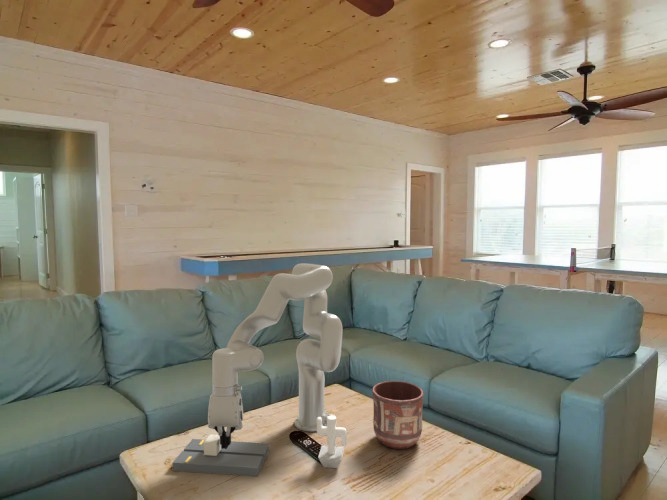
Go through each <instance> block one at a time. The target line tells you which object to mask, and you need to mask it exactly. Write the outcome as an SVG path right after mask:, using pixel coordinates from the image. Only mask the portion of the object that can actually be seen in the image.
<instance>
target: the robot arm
mask: <svg viewBox="0 0 667 500" xmlns="http://www.w3.org/2000/svg"><path fill="white" fill-rule="evenodd" d="M333 279H334V275H333V272H332V269H331V268H329V267H328V266H326V265H321V264H315V263H305V262H304V263H303V262H302V263H297V264H295V265H294V267H293V268H292V272H291V274H290V273H283V272H281V273H277V274H275V275H273V277H272V278H271V280H270V281H269V283H268V285H267V288H266V290H265V291H264V293H263V294H262V297H261V298H260V300H259V303H258V305H257V306H256V308H255V310H254V311H253V312H252V313H251V314H249V315H248V316H247V317H245V319H244V320H243V321H241V323H239V324H238V326H237V327H236V328H235V329H234V331H233V333H232V334H231V337H230V338H229V340H228V343H227V344H226V347H222V348H219V349H216V350H214V351H213V353H212V358H211V359H212V361H211V362H212V392H211V393H210V396H209V401H208V409H207V423H208V425H207V427H208V428H209V429H212V430H215V432H217V435H219V436H220V444H221V449H223V448H225V449H227V448H228V446H229V445H230V444H231V441H232V433H234V432H235V431H239V430H240V431H241V430H242V429H243V426H244V425H243V422H242V421H243V420H244V407H243V400H242V399H243V398H242V394H241V391H242V390H243V386H242V385H241V386H240V385H239V381H238V380H239V379H238V373H239V372H248V371H255V370H257V369H258V368H260V367H261V365H262V364H263V362H264V357H265V356H264V353H263V351H262V350H261V349H260V348H259V347H257V346H255V345H252V344H250V342H252V339H253V338H254V336H255V335H256V334H257V333H259V331H261V330H263V329H265V328H268V327H270V326H273V325H276V324H277V323H278V322H279V321H280V319H281V317H282V315H283V313H284V311H285V309H286V306H288V303H289V301H290V300H291V301H296V302H299V301H304V303H303V304H304V305H303V306H304V307H303V316H302V317H303V318H302V330H303V332H304V334H306V335H308V336H311V337H313V338H317V339H320V340H317V339H313V338H305V339H304V340H301V341H300V343H299V344H298V345H297V348H296V350H295V351H296V353H295V355H296V362H297V368H298V416H297V417H296V418H294V426H295V427H296V428H297V429H298V430H300V431H303V432H317V418H318V417H321V418H322V426H328V423H327V417H328V416H329V415H335V414H334V413H327V409H326V408H325V383H326V382H325V373H331V372H334V371H335V370H336V369H337V368H338V366H339V364H340V360H341V355H342V345H343V344H342V343H343V330H344V329H343V324H342V323H343V322H342V320H341V319H340V317H339V316H337V315H336V314H333V313H330V312H329V313H328V294H327V289H329V287H330V286H331V285H332V282H333Z"/></svg>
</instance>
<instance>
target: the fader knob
mask: <svg viewBox="0 0 667 500" xmlns="http://www.w3.org/2000/svg"><path fill="white" fill-rule="evenodd" d="M204 440H205V442H204V455H211V456H217V455H218V453H219V452H220V450H221V444H220V436H219V435H218V434H211V433H210V434H209V435H208V437H206V439H204Z"/></svg>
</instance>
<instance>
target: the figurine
mask: <svg viewBox="0 0 667 500" xmlns="http://www.w3.org/2000/svg"><path fill="white" fill-rule="evenodd" d="M327 423H328V426H322V418H321V417H318V418H317V431H316V434H317V435H318V436H319V437H320V436H321V437H322V436H323V437H327V445H324V444H323V445H321V446H320V449H319V450H320V451H319V453H318V457H317V458H318V459H319V462H320V464H321V465H322V467H323V468H330V469H331V468H332V469H338V468H339V466H340V464H341V462H342V460H343V455H344V450H345V447H346V446H347V445H348V432H347V429H346V428H345V427H339V426H338V427H337V416H336V415H335V414H334V415H329V416H328V417H327ZM336 437H337V438H341V446H336V445H337V444H336V443H337V441H336V440H337V439H336Z"/></svg>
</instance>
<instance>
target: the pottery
mask: <svg viewBox="0 0 667 500" xmlns="http://www.w3.org/2000/svg"><path fill="white" fill-rule="evenodd" d="M371 391H372V401H373V402H372V403H373V404H372V405H373V416H372V419H373V420H372V423H373V425H372V426H373V431H374V434H375V436H376V438H377V440H379V442H380V443H381V444H382V445H383V446H385V447H387V448H389V449H393V450H407V449H410V448H412V447H413V446H414V445H415V444H416V443H417V442H419V440H420V438H421V436H422V432H423V403H424V397H425V396H424V395H425V394H424V393H425V392H424V390H423V388H421V387H419V386H418V385H416V384H414V383H411V382H407V381H401V380H389V381H383V382H379V383H376V384H375V385H374V386H373V387H372V390H371Z"/></svg>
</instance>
